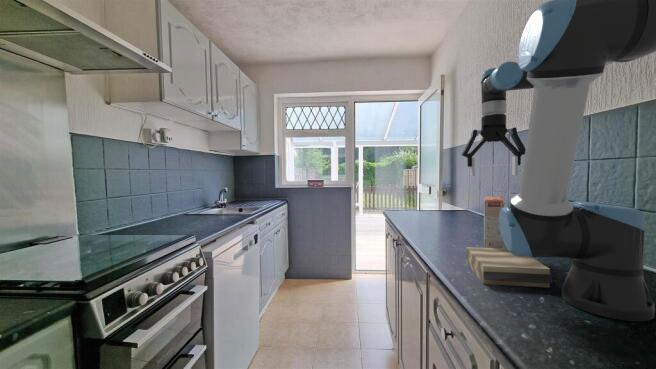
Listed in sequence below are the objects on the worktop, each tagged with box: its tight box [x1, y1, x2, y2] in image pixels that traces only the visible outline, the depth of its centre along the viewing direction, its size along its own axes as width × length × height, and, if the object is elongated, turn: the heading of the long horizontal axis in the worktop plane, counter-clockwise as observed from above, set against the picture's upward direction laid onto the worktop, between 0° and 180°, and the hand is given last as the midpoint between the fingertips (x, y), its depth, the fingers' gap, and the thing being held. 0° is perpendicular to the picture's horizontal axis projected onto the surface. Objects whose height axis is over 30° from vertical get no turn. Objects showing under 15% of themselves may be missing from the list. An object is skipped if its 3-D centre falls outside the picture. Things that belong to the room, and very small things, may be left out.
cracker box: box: [483, 195, 505, 248], centre depth 103 cm, size 14×6×21 cm, turn 151°
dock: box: [465, 246, 553, 289], centre depth 86 cm, size 20×16×5 cm
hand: (493, 175), depth 102 cm, fingers open, 13 cm apart
